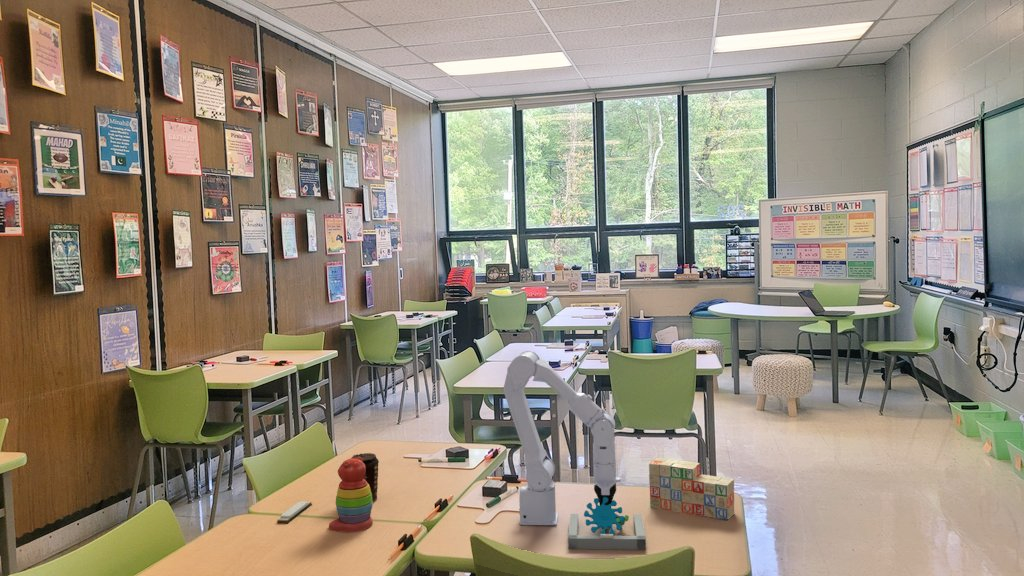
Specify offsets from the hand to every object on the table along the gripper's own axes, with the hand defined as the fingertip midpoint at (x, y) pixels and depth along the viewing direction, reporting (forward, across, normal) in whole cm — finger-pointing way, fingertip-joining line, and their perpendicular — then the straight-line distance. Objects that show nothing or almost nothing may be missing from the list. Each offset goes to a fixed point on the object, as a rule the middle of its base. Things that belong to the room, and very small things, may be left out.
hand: (605, 513), depth 189 cm
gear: (+3, -6, 0) cm, 6 cm away
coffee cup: (+2, +16, +68) cm, 70 cm away
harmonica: (+3, +5, +85) cm, 85 cm away
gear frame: (+2, -8, 0) cm, 8 cm away
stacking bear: (+3, -4, +66) cm, 66 cm away
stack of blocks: (+3, +10, -23) cm, 25 cm away
